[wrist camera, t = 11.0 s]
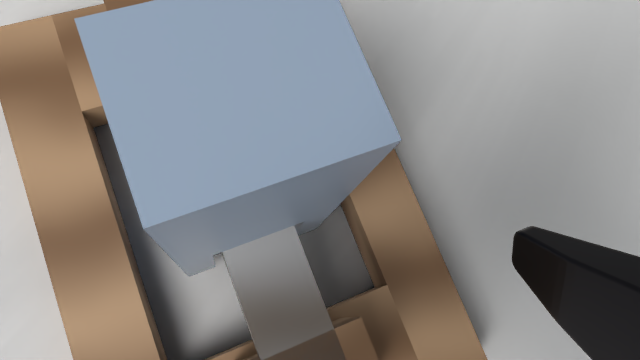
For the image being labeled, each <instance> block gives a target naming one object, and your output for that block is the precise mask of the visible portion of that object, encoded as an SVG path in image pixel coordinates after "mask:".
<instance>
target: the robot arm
mask: <svg viewBox="0 0 640 360" xmlns="http://www.w3.org/2000/svg"><path fill="white" fill-rule="evenodd" d="M512 262H513V265H514V267H515V269H516V270H517V272H518V273H519V274H520V276H521V277H522V278H523V279H524V281H525V282H526V283H527V285H528V286H529V287H530V288H531V290H532V291H533V292H534V294H535V295H536V296H537V298H538V299H539V300H540V301H541V303H542V304H543V305H544V307H545V308H546V309H547V310H548V312H549V313H550V314H551V315H552V317H553V318H554V319H555V320H556V321H557V323H558V324H559V325H560V326H561V327H562V328H563V329H564V330H565V331H566V333H567V334H568V335H569V336H570V337H571V338H572V339H573V340H574V341H575V342H576V343H577V344H578V345H579V346H580V347H581V348H582V349H583V350H584V352H585V353H586V354H587V355H588V356H589V357H590V358H591V359H592V360H640V257H638V256H634V255H631V254H628V253H624V252H621V251H617V250H614V249H610V248H607V247H603V246H600V245H597V244H593V243H590V242H586V241H583V240H579V239H576V238H572V237H569V236H566V235H562V234H559V233H555V232H552V231H548V230H545V229H541V228H538V227H534V226H530V227H527V228H524V229H522V230H520V231H517V232H516V233H515V235H514V240H513V251H512Z"/></svg>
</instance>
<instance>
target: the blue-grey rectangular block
mask: <svg viewBox="0 0 640 360" xmlns="http://www.w3.org/2000/svg"><path fill="white" fill-rule="evenodd" d="M74 20H75V23H76V26H77V29H78V32H79V35H80V38H81V41H82V44H83V47H84V50H85V53H86V57H87V60H88V63H89V66H90V69H91V72H92V75H93V78H94V81H95V84H96V87H97V90H98V93H99V96H100V99H101V102H102V105H103V108H104V111H105V114H106V117H107V120H108V123H109V126H110V129H111V132H112V136H113V139H114V142H115V145H116V148H117V151H118V154H119V157H120V160H121V163H122V166H123V169H124V172H125V175H126V178H127V181H128V184H129V187H130V190H131V193H132V196H133V199H134V202H135V205H136V208H137V212H138V215H139V218H140V221H141V224H142V227H143V229H144V230H145V231H146V232H147V233H148V234H149V235H150V237H151V238H152V239H153V240H154V241H155V242H156V243H157V244H158V245H159V246H160V247H161V248H162V249H163V250H164V251H165V252H166V253H167V254H168V255H169V256H170V257H171V259H172V260H173V261H174V262H175V263H176V264H177V265H178V266H179V267H180V268H181V269H182V270H183V271H184V272H185V273H186V274H187V275H188V276H192V275H195V274H197V273H200V272H203V271H205V270H208V269H211V268H213V267H216V266H215V262H214V258H213V255H216V254H218V253H221V252H224V251H226V250H229V249H232V248H234V247H237V246H240V245H242V244H245V243H248V242H251V241H253V240H256V239H259V238H261V237H264V236H267V235H269V234H272V233H275V232H278V231H280V230H283V229H286V228H288V227H291V226H295V229H296V231H297V234H298V235H301V234H303V233H306V232H309V231H311V230H314V229H316V228H317V227H318V226H319V225H320V224H321V223H322V222H323V221H324V220H325V219H326V218H327V217H328V216H329V215H330V214H331V213H332V212H333V211H334V210H335V209H336V208H337V207H338V206H339V204H340V203H341V202H342V201H343V200H344V199H345V198H346V197H347V196H348V195H349V194H350V193H351V192H352V191H353V190H354V189H355V188H356V187H357V186H358V185H359V184H360V183H361V182H362V181H363V180H364V179H365V178H366V176H367V175H368V174H369V173H370V172H371V171H372V170H373V169H374V168H375V167H376V166H377V165H378V164H379V163H380V162H381V161H382V160H383V159H384V158H385V157H386V156H387V155H388V154H389V153H390V152H391V151H392V150H393V148H394V147H395V146H396V145H397V144H398V143H399V142H400V141H401V140H402V139H401V137H400V135H399V133H398V131H397V128H396V126H395V124H394V122H393V119H392V117H391V115H390V113H389V111H388V108H387V106H386V104H385V102H384V99H383V97H382V95H381V93H380V90H379V88H378V86H377V84H376V82H375V79H374V77H373V75H372V73H371V70H370V68H369V66H368V64H367V62H366V59H365V57H364V55H363V53H362V50H361V48H360V46H359V44H358V41H357V39H356V37H355V35H354V33H353V30H352V28H351V26H350V24H349V21H348V19H347V17H346V15H345V13H344V10H343V8H342V6H341V4H340V1H339V0H154V1H149V2H145V3H140V4H136V5H132V6H127V7H123V8H119V9H114V10H110V11H105V12H101V13H97V14H92V15H88V16H84V17H79V18H75V19H74Z"/></svg>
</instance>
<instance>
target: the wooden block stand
mask: <svg viewBox="0 0 640 360" xmlns="http://www.w3.org/2000/svg"><path fill="white" fill-rule="evenodd" d="M149 1H154V0H104V3H105V4H100V5H96V6H91V7H87V8H82V9H78V10H73V11H69V12H64V13H60V14H55V15H51V16H46V17H42V18H37V19H33V20H28V21H23V22H19V23H14V24H10V25H5V26H1V27H0V101H1V105H2V108H3V112H4V115H5V119H6V123H7V126H8V130H9V133H10V137H11V140H12V144H13V147H14V151H15V154H16V158H17V161H18V165H19V169H20V172H21V176H22V179H23V183H24V186H25V190H26V193H27V197H28V200H29V204H30V207H31V211H32V215H33V218H34V222H35V225H36V229H37V232H38V236H39V239H40V243H41V246H42V250H43V253H44V257H45V261H46V264H47V268H48V271H49V275H50V278H51V282H52V285H53V289H54V292H55V296H56V300H57V303H58V307H59V310H60V314H61V317H62V321H63V324H64V328H65V331H66V335H67V338H68V342H69V346H70V349H71V353H72V356H73V360H167V357H166V354H165V351H164V348H163V345H162V342H161V339H160V335H159V332H158V329H157V326H156V323H155V320H154V317H153V313H152V310H151V307H150V304H149V301H148V298H147V295H146V291H145V288H144V285H143V282H142V279H141V276H140V273H139V270H138V266H137V263H136V260H135V257H134V254H133V251H132V248H131V244H130V241H129V238H128V235H127V232H126V229H125V226H124V222H123V219H122V216H121V213H120V210H119V207H118V204H117V200H116V197H115V194H114V191H113V188H112V185H111V182H110V178H109V175H108V172H107V169H106V166H105V163H104V160H103V156H102V153H101V150H100V147H99V144H98V141H97V138H96V134H95V131H94V127H98V126H101V125H105V124H108V120H107V117H106V114H105V111H104V108H103V105H102V102H101V99H100V96H99V93H98V90H97V87H96V84H95V81H94V78H93V75H92V72H91V69H90V66H89V63H88V60H87V57H86V53H85V50H84V47H83V44H82V41H81V38H80V35H79V32H78V29H77V26H76V23H75V20H74V19H75V18H79V17H84V16H88V15H92V14H97V13H101V12H105V11H110V10H114V9H119V8H123V7H127V6H132V5H136V4H140V3H145V2H149ZM340 204H341V206H342V209H343V211H344V214H345V216H346V219H347V221H348V223H349V226H350V228H351V231H352V233H353V236H354V238H355V241H356V243H357V245H358V248H359V250H360V253H361V255H362V258H363V260H364V263H365V265H366V267H367V270H368V272H369V275H370V277H371V280H372V282H373V285H374V287H375V288H373V289H370V290H368V291H366V292H363V293H361V294H359V295H356V296H354V297H351V298H349V299H347V300H344V301H342V302H340V303H337V304H335V305H332V306H330V307H328V308H326V306H325V304H324V301H323V299H322V296H321V293H320V291H319V288H318V286H317V283H316V280H315V278H314V275H313V273H312V270H311V268H310V265H309V262H308V260H307V257H306V255H305V252H304V249H303V247H302V244H301V242H300V239H299V237H298V234H297V231H296V229H295V226H291V227H288V228H286V229H283V230H280V231H278V232H275V233H272V234H269V235H267V236H264V237H261V238H259V239H256V240H253V241H251V242H248V243H245V244H242V245H240V246H237V247H234V248H232V249H229V250H226V251H224V252H222V255H223V258H224V261H225V263H226V266H227V269H228V272H229V275H230V278H231V280H232V283H233V286H234V289H235V292H236V295H237V297H238V300H239V303H240V306H241V309H242V311H243V314H244V317H245V320H246V323H247V326H248V328H249V331H250V334H251V337H252V340H249V341H247V342H245V343H242V344H240V345H237V346H235V347H233V348H230V349H228V350H226V351H223V352H221V353H218V354H216V355H214V356H211V357H209V358H207V359H204V360H487V357H486V355H485V353H484V351H483V348H482V346H481V344H480V342H479V339H478V337H477V335H476V332H475V330H474V328H473V326H472V323H471V321H470V319H469V317H468V314H467V312H466V310H465V308H464V305H463V303H462V301H461V298H460V296H459V294H458V292H457V289H456V287H455V285H454V283H453V280H452V278H451V276H450V274H449V271H448V269H447V267H446V264H445V262H444V260H443V258H442V255H441V253H440V251H439V249H438V246H437V244H436V242H435V240H434V237H433V235H432V233H431V230H430V228H429V226H428V224H427V221H426V219H425V217H424V215H423V212H422V210H421V208H420V206H419V203H418V201H417V199H416V196H415V194H414V192H413V190H412V187H411V185H410V183H409V181H408V178H407V176H406V174H405V172H404V169H403V167H402V165H401V162H400V160H399V158H398V156H397V153H396V151H395V149H394V148H393V150H392V151H391V152H390V153H389V154H388V155H387V156H386V157H385V158H384V159H383V160H382V161H381V162H380V163H379V164H378V165H377V166H376V167H375V168H374V169H373V170H372V171H371V172H370V173H369V174H368V175H367V176H366V178H365V179H364V180H363V181H362V182H361V183H360V184H359V185H358V186H357V187H356V188H355V189H354V190H353V191H352V192H351V193H350V194H349V195H348V196H347V197H346V198H345V199H344V200H343V201H342V202H341V203H340Z"/></svg>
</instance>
